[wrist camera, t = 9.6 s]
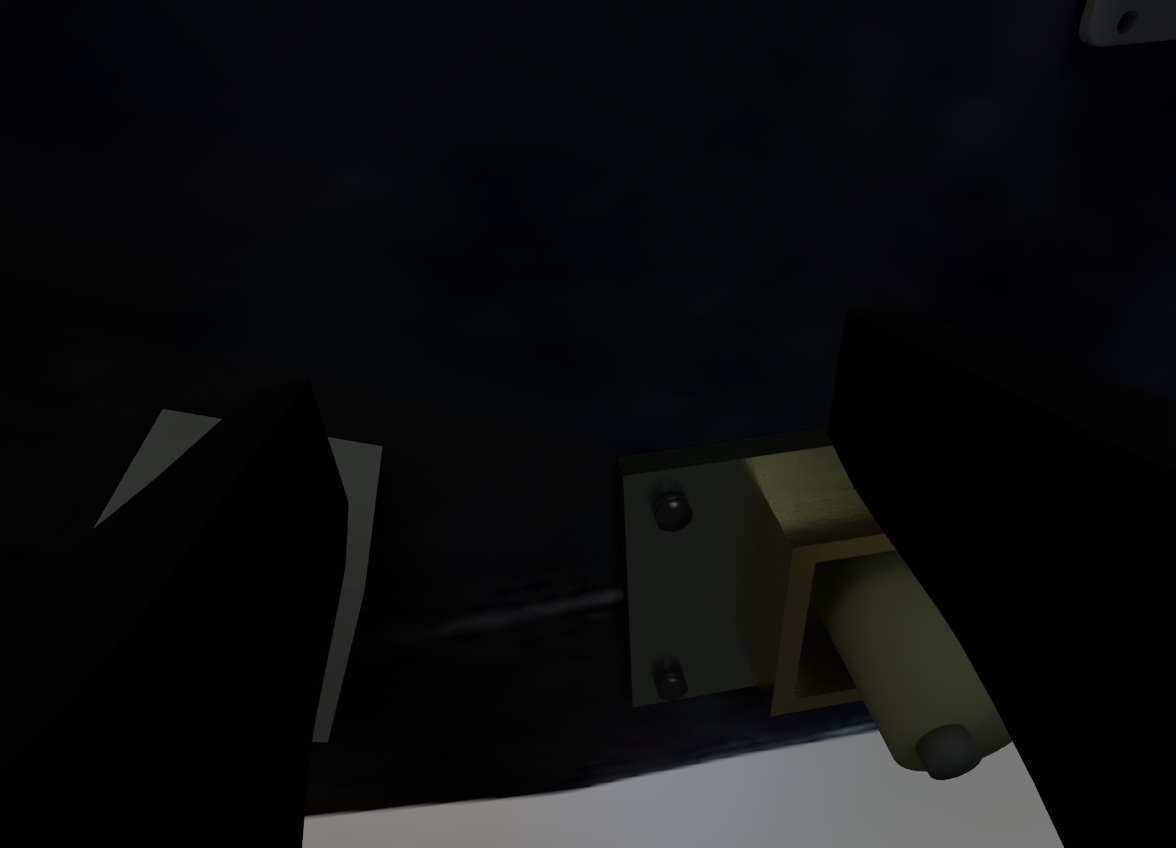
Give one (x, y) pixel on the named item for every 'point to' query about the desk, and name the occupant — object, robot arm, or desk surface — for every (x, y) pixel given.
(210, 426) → the grey cube
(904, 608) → the switch lever
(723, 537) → the mounting bracket
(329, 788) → the desk surface
